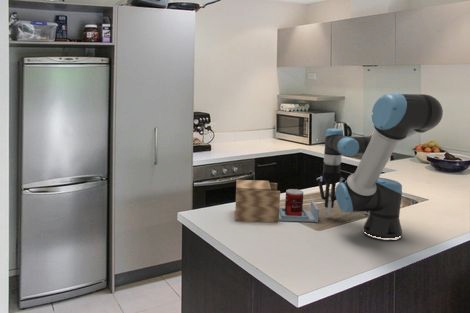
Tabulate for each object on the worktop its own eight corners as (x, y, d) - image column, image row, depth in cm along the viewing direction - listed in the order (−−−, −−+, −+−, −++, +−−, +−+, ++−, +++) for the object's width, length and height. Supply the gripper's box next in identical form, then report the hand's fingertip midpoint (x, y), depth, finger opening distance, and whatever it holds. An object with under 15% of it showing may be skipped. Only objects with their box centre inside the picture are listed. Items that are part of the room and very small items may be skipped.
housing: (275, 211, 200) (277, 181, 197) (278, 222, 185) (280, 189, 182) (235, 210, 200) (236, 179, 197) (235, 221, 185) (236, 187, 182)
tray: (314, 213, 199) (315, 200, 198) (319, 222, 186) (320, 209, 185) (271, 211, 199) (272, 199, 198) (273, 220, 186) (274, 207, 185)
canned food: (290, 211, 197) (291, 188, 195) (305, 214, 193) (306, 191, 191) (281, 214, 192) (282, 191, 190) (296, 218, 187) (298, 194, 185)
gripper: (344, 162, 191) (340, 212, 196) (316, 161, 191) (312, 211, 196) (349, 165, 184) (344, 217, 188) (319, 164, 184) (315, 216, 188)
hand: (328, 214), depth 192 cm, fingers closed
